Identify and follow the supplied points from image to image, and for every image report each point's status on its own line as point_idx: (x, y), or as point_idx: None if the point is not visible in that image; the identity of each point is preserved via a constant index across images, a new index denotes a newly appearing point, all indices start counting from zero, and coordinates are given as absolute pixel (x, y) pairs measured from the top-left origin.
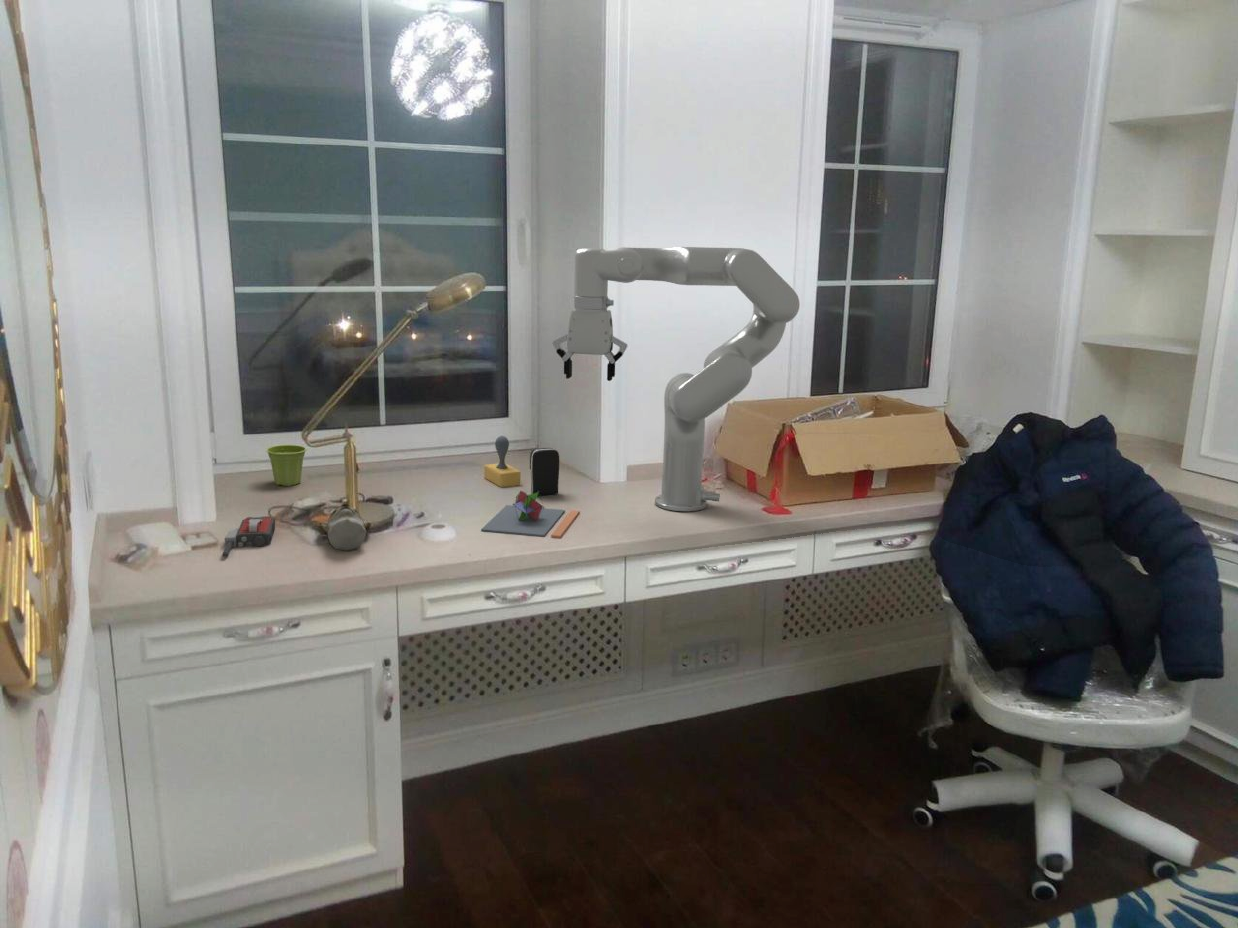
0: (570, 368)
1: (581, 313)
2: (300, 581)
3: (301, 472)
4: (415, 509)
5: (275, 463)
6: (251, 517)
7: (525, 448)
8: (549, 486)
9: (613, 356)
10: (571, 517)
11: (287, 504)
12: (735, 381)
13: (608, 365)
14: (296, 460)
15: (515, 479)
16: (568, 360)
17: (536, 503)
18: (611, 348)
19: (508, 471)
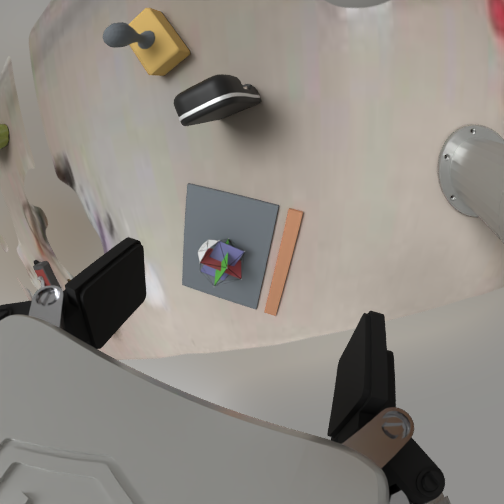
0: (116, 302)
1: None
2: (115, 358)
3: (1, 133)
4: (99, 204)
5: None
6: (37, 278)
7: None
8: (240, 109)
9: (381, 455)
10: (289, 246)
11: (25, 199)
12: None
13: (333, 435)
14: None
15: (178, 58)
16: (83, 339)
17: (231, 273)
18: (380, 487)
19: (159, 60)
